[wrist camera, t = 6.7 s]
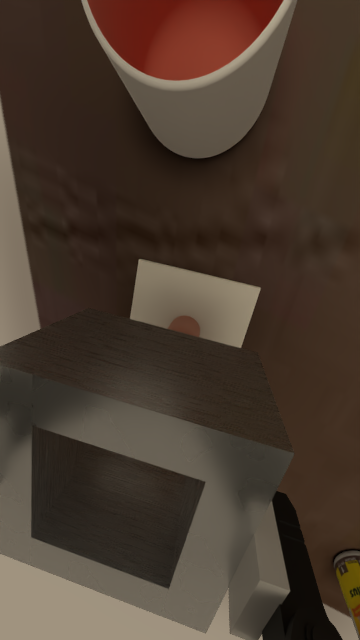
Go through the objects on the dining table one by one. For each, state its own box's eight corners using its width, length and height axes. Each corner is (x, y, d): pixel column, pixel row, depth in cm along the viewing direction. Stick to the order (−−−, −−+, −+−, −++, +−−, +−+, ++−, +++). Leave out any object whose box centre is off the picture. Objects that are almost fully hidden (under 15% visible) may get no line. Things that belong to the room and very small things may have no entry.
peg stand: (141, 258, 23) (103, 263, 16) (259, 286, 22) (279, 306, 15) (125, 361, 27) (89, 404, 20) (225, 389, 26) (227, 446, 18)
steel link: (88, 307, 12) (-26, 357, 7) (257, 352, 11) (294, 453, 6) (77, 437, 15) (-9, 550, 9) (211, 480, 14) (205, 633, 9)
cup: (210, 189, 20) (201, 139, 11) (122, 112, 20) (33, -11, 10) (298, 68, 17) (393, -152, 8) (195, -30, 17) (162, -397, 7)
